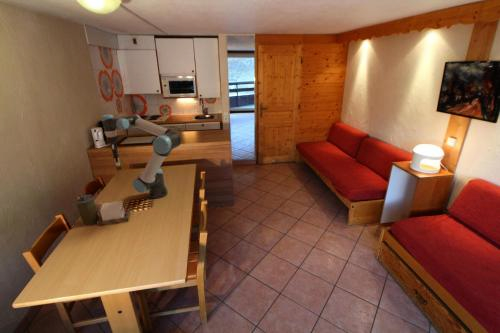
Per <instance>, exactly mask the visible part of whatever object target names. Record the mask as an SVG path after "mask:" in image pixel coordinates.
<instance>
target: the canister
mask: <svg viewBox="0 0 500 333" xmlns="http://www.w3.org/2000/svg"><path fill="white" fill-rule="evenodd" d="M95 202H96V201H95V198H94V196H93V194H84V193H83V194H82V195H81V196H79V197H78V198H76V199H75V204H76V207H77V210H78V212H79V217H80V219H81V224H82V225H83V226H90V225H94V224H95V223H97V222H98V220H99V218H100V216H99V212H97V209H96V205H95Z"/></svg>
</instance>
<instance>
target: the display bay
mask: <svg viewBox="0 0 500 333" xmlns="http://www.w3.org/2000/svg"><path fill="white" fill-rule="evenodd" d="M130 216H131V207H128V208H127V212H126V213H125V216H124V217H123V218H117V219H111V220H105V221H103V220H102V216H101V214H100V216H99V220H98V222H96V223H97V226H98V227H103V226H109V225H115V224H116V225H117V224H121V223H128V222H130V221H129V220H130Z"/></svg>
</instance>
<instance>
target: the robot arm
mask: <svg viewBox="0 0 500 333" xmlns="http://www.w3.org/2000/svg"><path fill="white" fill-rule="evenodd" d="M101 122H102V125H103V126H102V127H103V129H104V134H105V136H106V137H105V138H106V143H110V144H109V145H110V149H111V152H112V155H113V157H112V158H113V159H114V162H115V166H116V167H120V166H121V163H120V155H119V152H118V151H119V150H118V146H117V142H118V141H119V138H118V132H117V130H128V128H129V127H135V128H137V129H140V130H142V131H145V132H147V133H148V134H152V135H155V136H157V137H155V138H154V140H152V141H153V142H152V146H153V147H152V148H153V153H152V155H151V157H150V158H149V160H148V162H147V164H146V165H145V168H144V170H143V171H141V172H140V173H139V175H138V177H137V178H135V179H134V180H132V186H133V189H134V190H135V191H136V192H137V193H140V194H142V193H145V192H147V191H148V197H149V198H151V199H161V198H164V197H166V196H167V195H168V193H169V192H168V191H169V190H168V189H167V187H166V185H165V180H164V173H163V169H162V168H161V166H162V164H163V163H164V161H165V159H166V158H167V157H169V156H170V154H171V152H172V151H173V150H174V149H176V148H178V147H179V146H180V145H181V144H182V143H183V142H182V141H183V140H182V136H181V134H180V132H178V131H177V130H174V129H172V128H170V127H168V128H166V127H165V126H164V127H163V126H161V125H158V124H156V123H153V122H151V121H148V120H146V119H143V118H141V116H140V115H138V114H132V115H127V116H123V117H120V118H119V117H118V118H117V117H116V118H115V117H114V115H113V114H103V115H102V116H101Z"/></svg>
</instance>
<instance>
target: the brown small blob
mask: <svg viewBox="0 0 500 333" xmlns="http://www.w3.org/2000/svg"><path fill="white" fill-rule="evenodd" d="M103 204H104V200H98V201H95V205H96V209H97V212H98V213H101V212H100V210H101V208H102V205H103Z"/></svg>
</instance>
